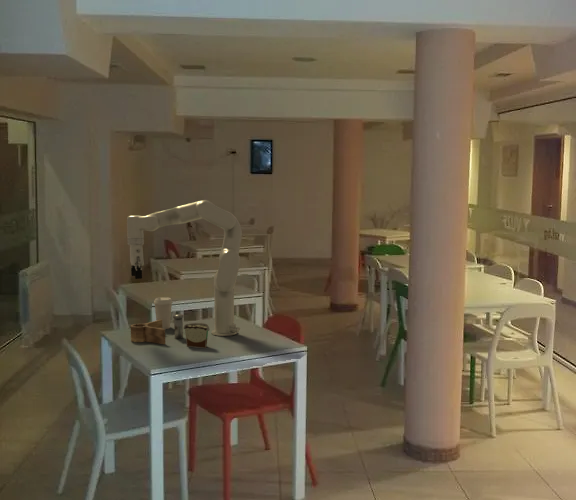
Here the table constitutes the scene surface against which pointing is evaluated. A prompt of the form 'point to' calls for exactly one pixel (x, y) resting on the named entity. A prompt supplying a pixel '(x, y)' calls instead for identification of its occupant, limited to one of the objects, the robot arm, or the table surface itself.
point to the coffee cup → (163, 311)
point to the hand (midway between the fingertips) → (136, 277)
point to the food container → (196, 334)
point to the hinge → (148, 332)
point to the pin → (178, 326)
